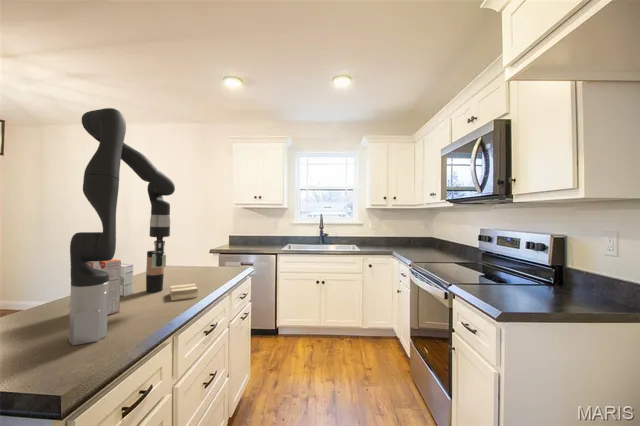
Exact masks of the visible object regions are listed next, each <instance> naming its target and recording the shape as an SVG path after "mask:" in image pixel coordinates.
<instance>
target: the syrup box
mask: <svg viewBox="0 0 640 426" xmlns="http://www.w3.org/2000/svg"><path fill="white" fill-rule="evenodd" d="M133 289H134V263H121V272H120V297H127V296H129V295H131V294H133V291H134V290H133Z"/></svg>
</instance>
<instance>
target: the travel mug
mask: <svg viewBox="0 0 640 426" xmlns="http://www.w3.org/2000/svg"><path fill="white" fill-rule="evenodd" d="M152 254H156V253H155V250H148V251H147V252H146V270H145V272H146V273H145V274H146V275H145V287H146V288H145V291H146V293H148V294H149V293H151V294H152V293H160V292H162V291H163V289H164V275H165V272H164V271H165V267H156V268H152ZM163 254H165V251H164V252H163Z"/></svg>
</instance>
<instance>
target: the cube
mask: <svg viewBox="0 0 640 426" xmlns="http://www.w3.org/2000/svg"><path fill="white" fill-rule="evenodd" d="M166 264H167V253H164V254H163V257H162V266H160V267H164V268H166V266H167V265H166ZM152 268H156V254H152Z"/></svg>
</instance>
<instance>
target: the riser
mask: <svg viewBox="0 0 640 426" xmlns="http://www.w3.org/2000/svg"><path fill="white" fill-rule="evenodd" d="M198 294H199V291H198V287H197V285H196V283H187V284H186V283H185V284H177V285H174V284H173V285H170V287H169V295H170V296H169V297H170V300H171V301H178V300H186V299H193V298H194V299H196V298H198V296H199V295H198Z"/></svg>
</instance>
